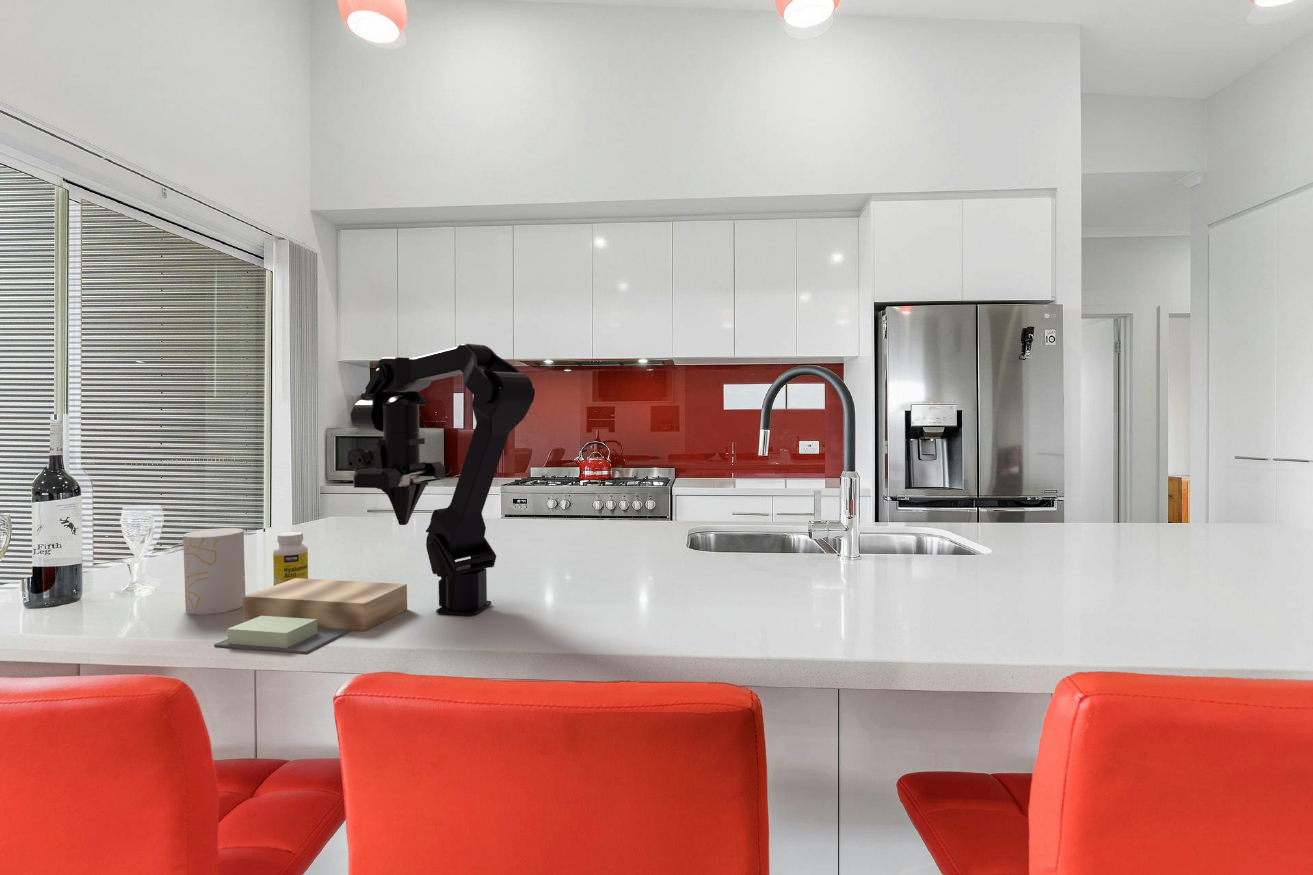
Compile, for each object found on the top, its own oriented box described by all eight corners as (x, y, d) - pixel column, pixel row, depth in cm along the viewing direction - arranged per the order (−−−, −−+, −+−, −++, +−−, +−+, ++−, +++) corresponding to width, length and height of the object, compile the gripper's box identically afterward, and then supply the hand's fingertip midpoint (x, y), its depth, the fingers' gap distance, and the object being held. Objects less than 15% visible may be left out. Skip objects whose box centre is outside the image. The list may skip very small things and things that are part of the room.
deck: (407, 609, 110) (406, 583, 109) (364, 631, 99) (364, 603, 99) (296, 602, 114) (295, 578, 113) (243, 622, 103) (243, 596, 103)
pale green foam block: (286, 632, 91) (286, 647, 91) (317, 619, 97) (317, 633, 97) (227, 628, 93) (227, 643, 93) (261, 615, 99) (261, 629, 99)
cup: (174, 609, 110) (172, 534, 109) (226, 597, 117) (224, 526, 116) (204, 617, 106) (202, 539, 105) (256, 603, 113) (254, 530, 112)
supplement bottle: (282, 594, 118) (281, 537, 118) (268, 589, 122) (266, 534, 121) (314, 587, 123) (312, 532, 122) (299, 583, 126) (298, 529, 126)
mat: (350, 631, 99) (350, 629, 99) (306, 653, 90) (306, 651, 90) (264, 625, 102) (264, 623, 101) (214, 646, 93) (214, 644, 93)
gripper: (390, 430, 127) (391, 514, 128) (322, 434, 109) (324, 533, 110) (445, 430, 125) (447, 516, 126) (385, 435, 107) (387, 535, 108)
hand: (403, 524), depth 117 cm, fingers closed
